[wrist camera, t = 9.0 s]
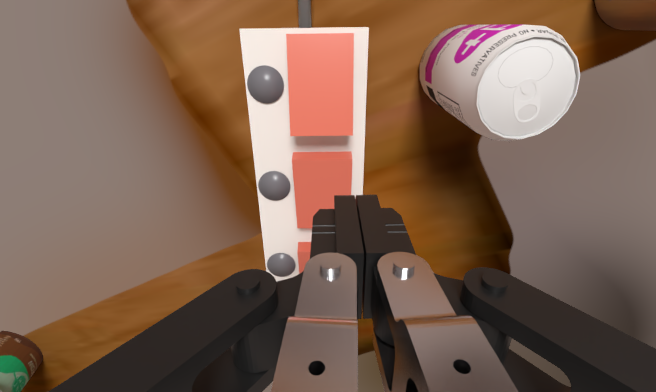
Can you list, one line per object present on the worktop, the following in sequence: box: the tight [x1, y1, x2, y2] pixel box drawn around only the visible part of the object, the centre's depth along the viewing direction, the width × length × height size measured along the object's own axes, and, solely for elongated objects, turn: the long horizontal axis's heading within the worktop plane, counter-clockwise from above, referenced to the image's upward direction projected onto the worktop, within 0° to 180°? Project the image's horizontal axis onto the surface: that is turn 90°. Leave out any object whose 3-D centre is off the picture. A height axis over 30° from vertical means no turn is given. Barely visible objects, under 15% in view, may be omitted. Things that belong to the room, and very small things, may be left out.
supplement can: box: [420, 25, 580, 141], centre depth 31 cm, size 8×8×15 cm
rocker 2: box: [286, 33, 354, 136], centre depth 33 cm, size 6×9×2 cm, turn 1°
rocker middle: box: [292, 151, 352, 228], centre depth 38 cm, size 6×9×2 cm, turn 1°
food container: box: [0, 331, 43, 392], centre depth 52 cm, size 12×6×10 cm, turn 173°
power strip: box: [240, 0, 369, 282], centre depth 39 cm, size 12×40×5 cm, turn 1°
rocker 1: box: [297, 242, 311, 274], centre depth 43 cm, size 6×9×2 cm, turn 1°
